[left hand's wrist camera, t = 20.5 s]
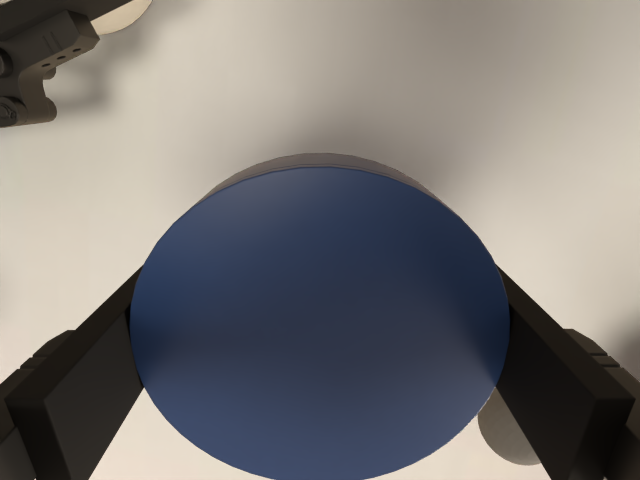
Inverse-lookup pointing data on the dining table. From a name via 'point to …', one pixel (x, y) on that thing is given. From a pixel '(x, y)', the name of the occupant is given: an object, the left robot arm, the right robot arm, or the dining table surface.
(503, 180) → the dining table surface
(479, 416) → the molecular model
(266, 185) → the lid
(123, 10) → the jar
